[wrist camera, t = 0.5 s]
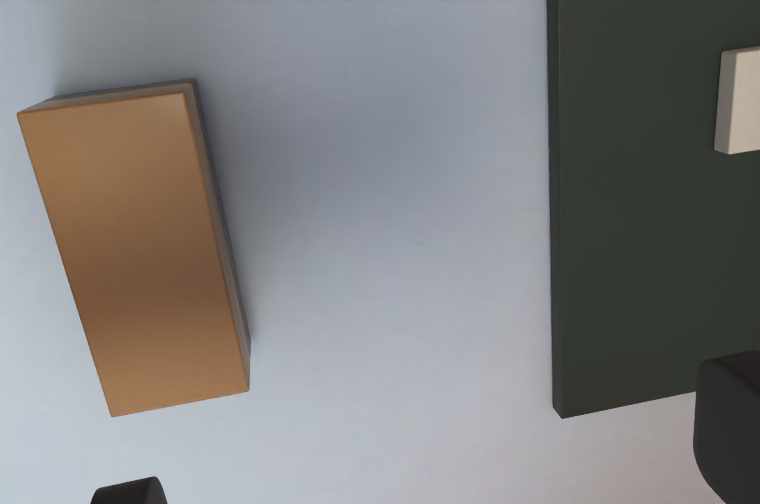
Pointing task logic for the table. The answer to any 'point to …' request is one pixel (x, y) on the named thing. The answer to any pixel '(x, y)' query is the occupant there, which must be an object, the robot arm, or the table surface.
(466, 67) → the table surface
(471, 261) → the table surface
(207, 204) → the eraser
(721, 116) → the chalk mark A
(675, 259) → the chalkboard
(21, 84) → the table surface
